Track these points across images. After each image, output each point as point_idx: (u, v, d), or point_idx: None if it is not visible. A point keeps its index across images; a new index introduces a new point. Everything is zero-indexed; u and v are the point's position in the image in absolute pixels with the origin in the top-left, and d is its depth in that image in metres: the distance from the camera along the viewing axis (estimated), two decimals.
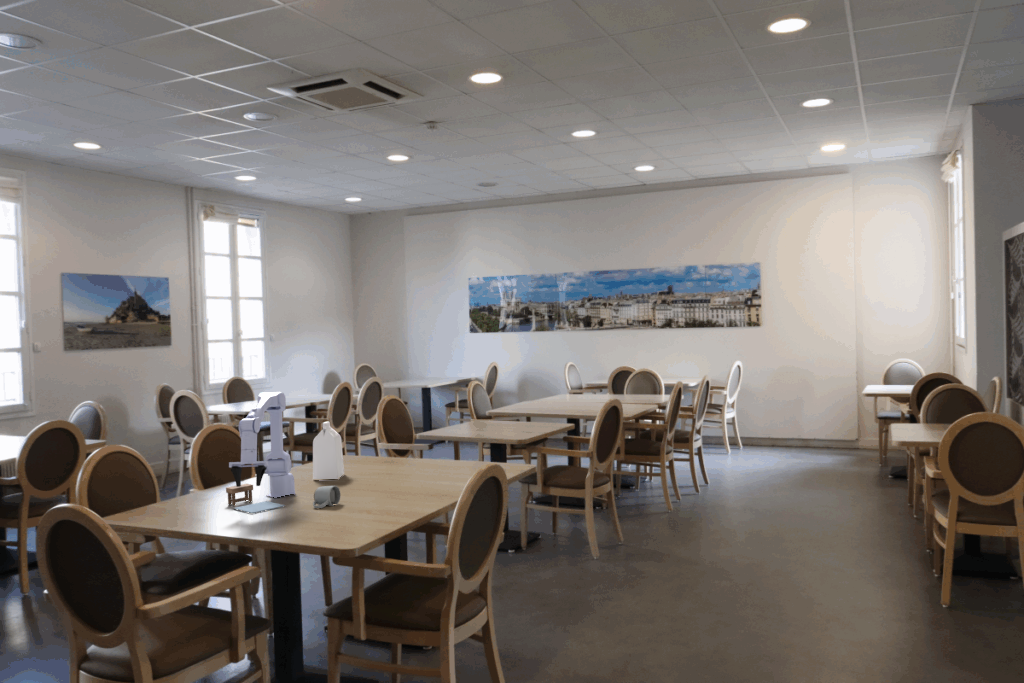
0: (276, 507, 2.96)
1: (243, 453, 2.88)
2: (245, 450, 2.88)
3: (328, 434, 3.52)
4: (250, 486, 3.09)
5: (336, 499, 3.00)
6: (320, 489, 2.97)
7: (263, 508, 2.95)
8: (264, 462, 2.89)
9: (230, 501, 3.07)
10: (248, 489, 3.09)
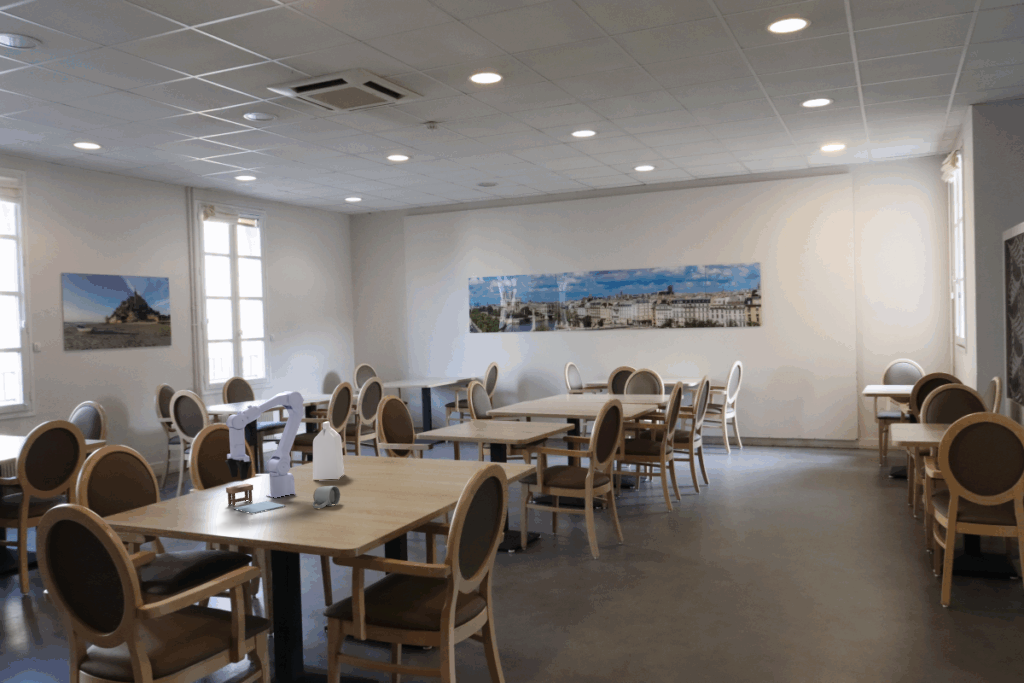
0: (276, 507, 2.96)
1: (230, 448, 3.07)
2: (230, 445, 3.06)
3: (328, 434, 3.52)
4: (250, 486, 3.09)
5: (336, 499, 3.00)
6: (320, 490, 2.97)
7: (263, 508, 2.95)
8: (243, 458, 3.03)
9: (230, 501, 3.07)
10: (248, 489, 3.09)
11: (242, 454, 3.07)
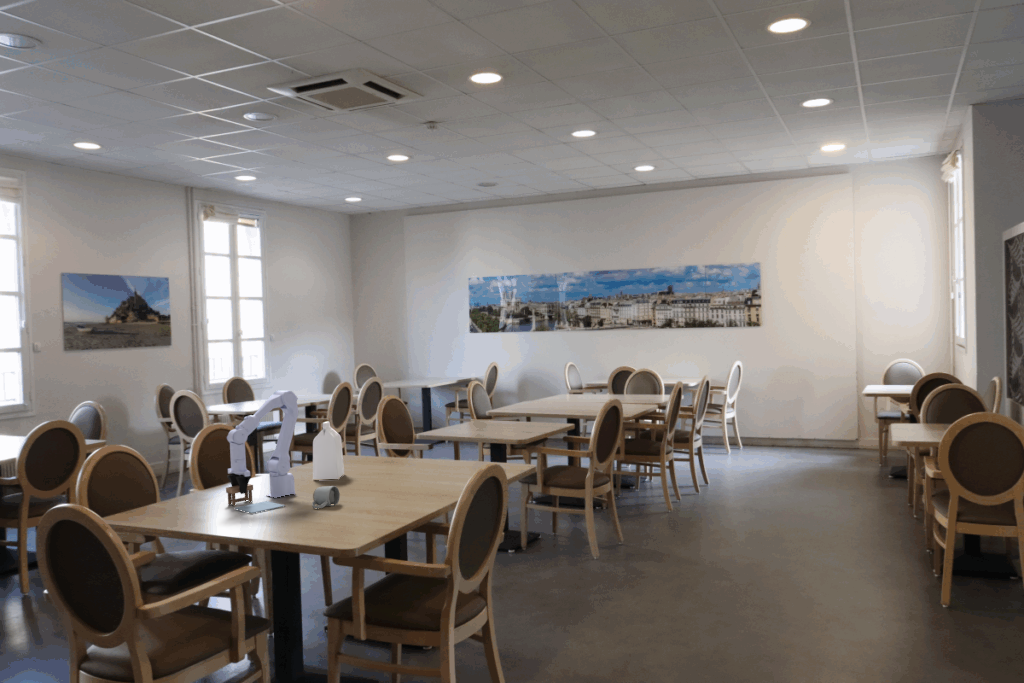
0: (276, 507, 2.96)
1: None
2: (231, 460, 3.06)
3: (328, 434, 3.52)
4: (250, 486, 3.09)
5: (335, 499, 3.00)
6: (319, 490, 2.96)
7: (263, 508, 2.95)
8: (244, 473, 3.03)
9: (230, 501, 3.07)
10: (248, 489, 3.09)
11: (243, 469, 3.07)
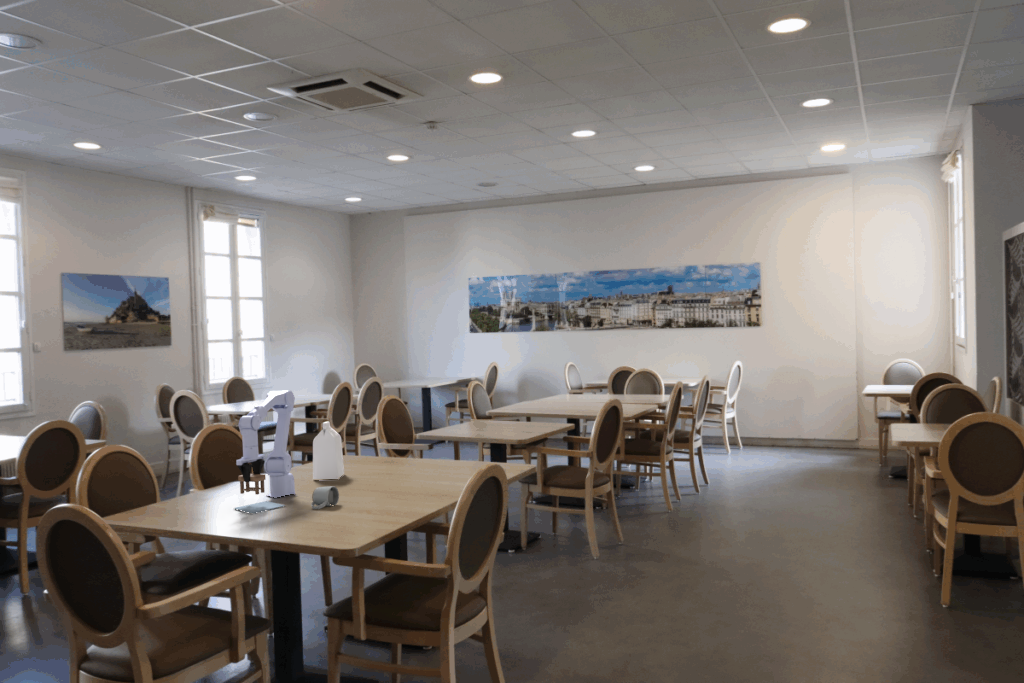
0: (276, 507, 2.96)
1: None
2: None
3: (328, 434, 3.52)
4: (254, 477, 2.98)
5: (335, 500, 2.99)
6: (319, 490, 2.96)
7: (263, 508, 2.95)
8: None
9: (246, 488, 3.04)
10: (252, 480, 2.98)
11: (247, 457, 2.98)
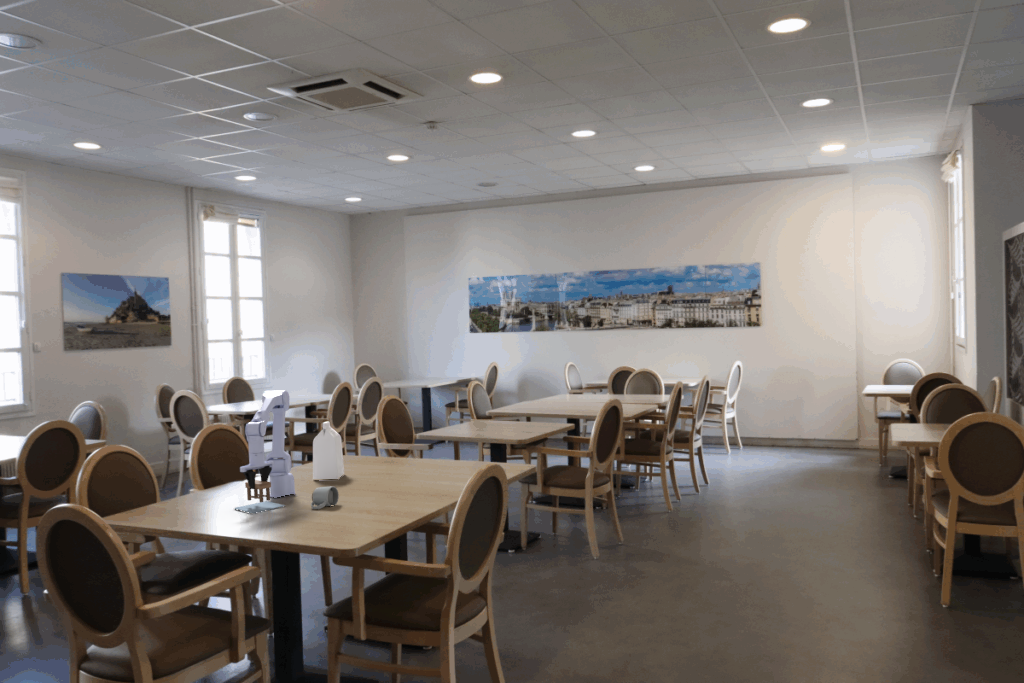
0: (276, 507, 2.96)
1: None
2: None
3: (328, 434, 3.52)
4: (258, 485, 2.94)
5: (334, 500, 2.99)
6: (318, 490, 2.96)
7: (263, 508, 2.95)
8: None
9: (254, 495, 3.01)
10: (257, 487, 2.95)
11: (252, 464, 2.96)
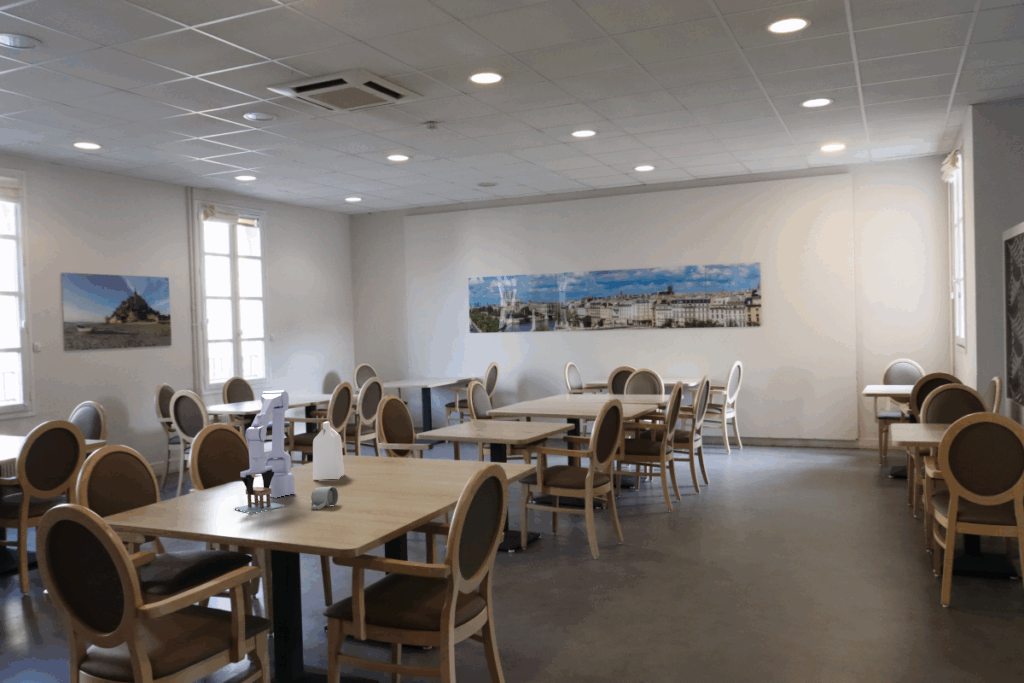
0: (276, 507, 2.96)
1: None
2: None
3: (328, 434, 3.52)
4: (258, 491, 2.95)
5: (334, 500, 2.99)
6: (318, 490, 2.95)
7: (263, 508, 2.95)
8: None
9: (255, 501, 3.01)
10: (257, 494, 2.95)
11: (252, 469, 2.96)
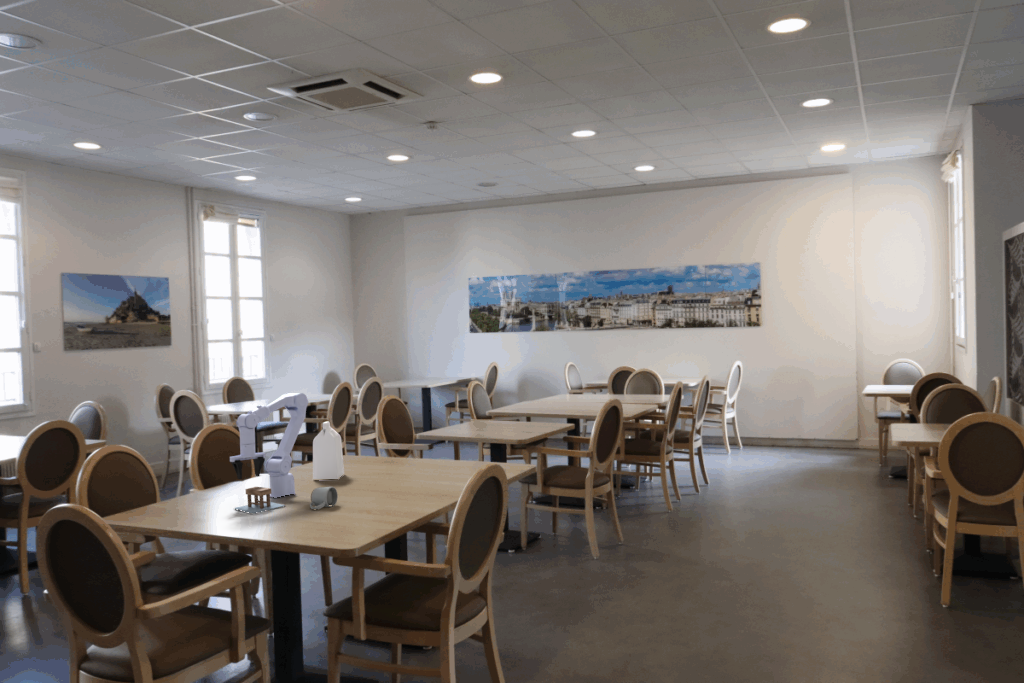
0: (276, 507, 2.96)
1: None
2: None
3: (328, 434, 3.52)
4: (258, 491, 2.95)
5: (333, 500, 2.99)
6: (317, 491, 2.95)
7: (263, 508, 2.95)
8: None
9: (255, 501, 3.01)
10: (257, 494, 2.95)
11: (242, 454, 3.06)
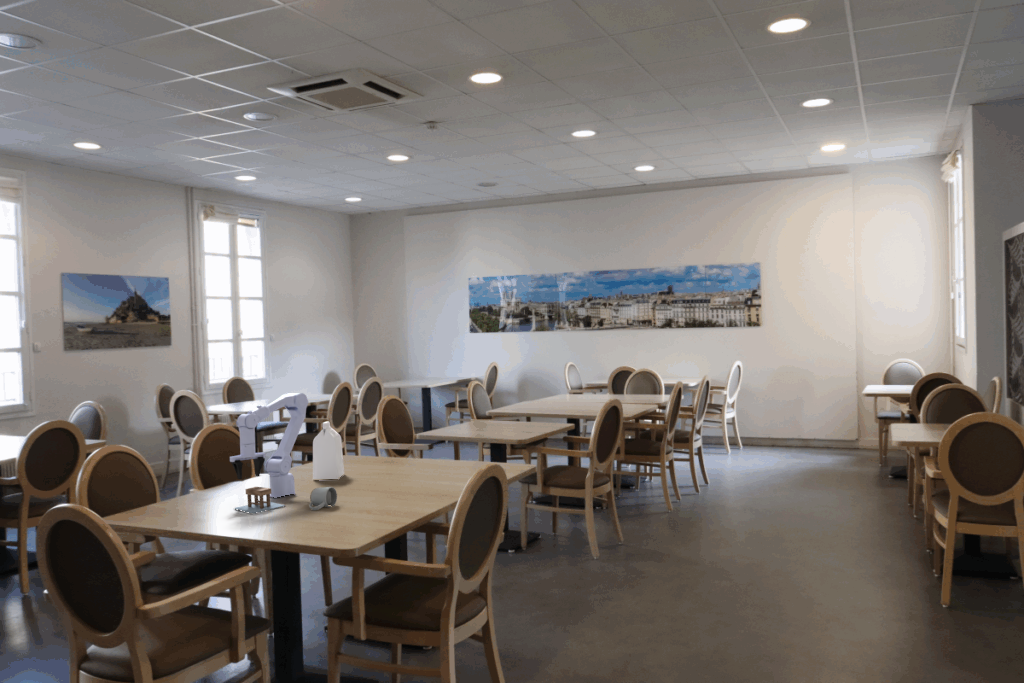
0: (276, 507, 2.96)
1: None
2: None
3: (328, 434, 3.52)
4: (258, 491, 2.95)
5: (333, 500, 2.98)
6: (317, 491, 2.95)
7: (263, 508, 2.95)
8: None
9: (255, 501, 3.01)
10: (257, 494, 2.95)
11: (242, 454, 3.06)
